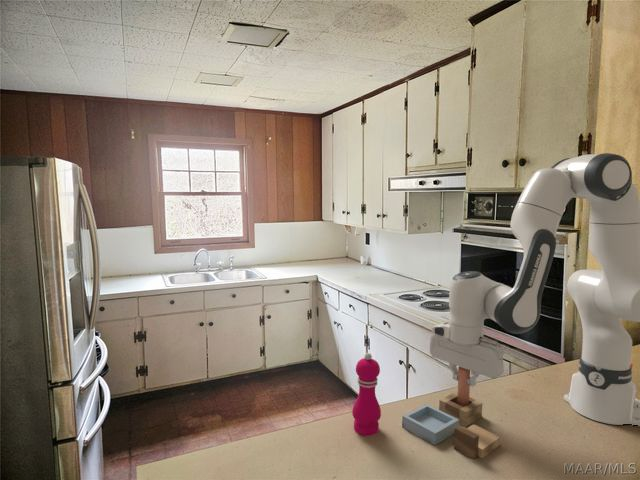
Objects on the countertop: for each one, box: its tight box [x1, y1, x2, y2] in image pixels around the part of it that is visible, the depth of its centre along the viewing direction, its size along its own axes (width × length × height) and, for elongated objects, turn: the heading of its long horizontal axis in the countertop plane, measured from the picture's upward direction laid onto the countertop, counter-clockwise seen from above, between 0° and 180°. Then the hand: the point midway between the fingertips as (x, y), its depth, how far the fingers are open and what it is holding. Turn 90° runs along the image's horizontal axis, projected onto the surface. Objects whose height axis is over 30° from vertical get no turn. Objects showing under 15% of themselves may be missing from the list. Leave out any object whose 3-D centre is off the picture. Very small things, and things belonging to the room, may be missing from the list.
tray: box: [401, 403, 460, 446], centre depth 106 cm, size 10×10×3 cm
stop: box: [453, 425, 479, 459], centre depth 97 cm, size 2×5×5 cm, turn 39°
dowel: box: [457, 366, 471, 407], centre depth 112 cm, size 3×3×10 cm
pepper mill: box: [351, 352, 382, 437], centre depth 105 cm, size 7×7×20 cm
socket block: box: [438, 391, 483, 427], centre depth 113 cm, size 8×8×4 cm
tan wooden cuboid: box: [466, 424, 501, 459], centre depth 100 cm, size 8×7×2 cm
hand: (463, 382), depth 112 cm, fingers closed on dowel, 3 cm apart
